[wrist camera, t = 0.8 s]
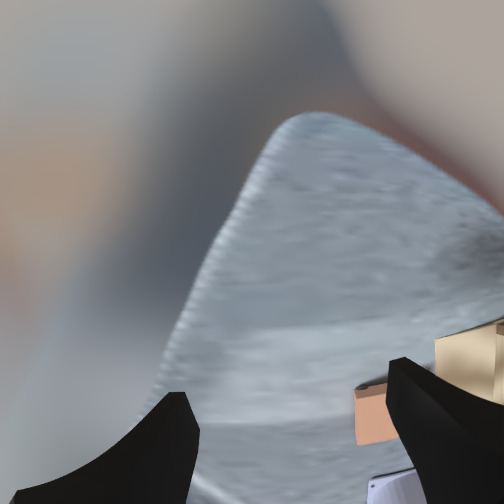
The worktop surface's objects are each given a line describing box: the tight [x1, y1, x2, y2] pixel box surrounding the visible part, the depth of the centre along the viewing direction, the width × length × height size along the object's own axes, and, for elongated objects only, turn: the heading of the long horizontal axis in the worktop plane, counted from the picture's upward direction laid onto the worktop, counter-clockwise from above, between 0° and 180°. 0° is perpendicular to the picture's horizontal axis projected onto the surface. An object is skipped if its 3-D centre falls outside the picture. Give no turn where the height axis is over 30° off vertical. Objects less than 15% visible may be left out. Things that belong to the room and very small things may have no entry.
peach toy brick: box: [354, 383, 399, 446], centre depth 22 cm, size 5×5×3 cm
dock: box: [435, 319, 504, 405], centre depth 20 cm, size 11×16×3 cm
